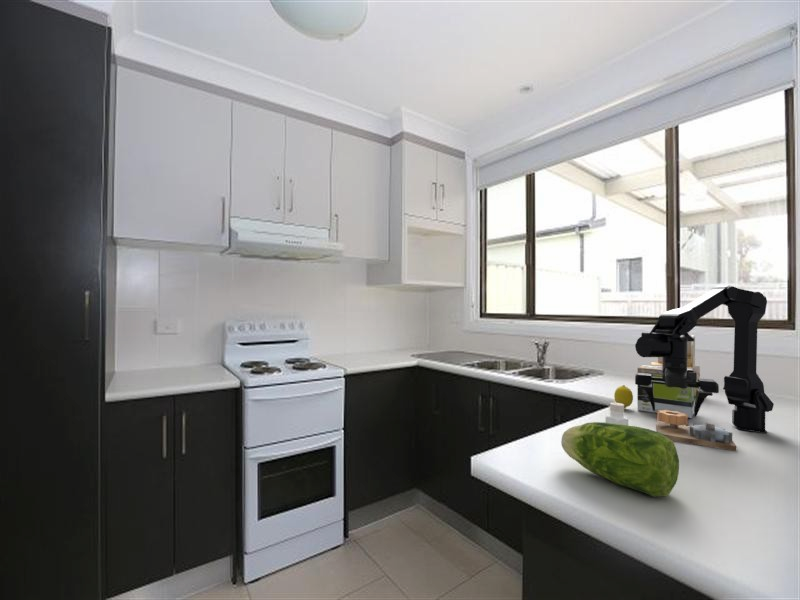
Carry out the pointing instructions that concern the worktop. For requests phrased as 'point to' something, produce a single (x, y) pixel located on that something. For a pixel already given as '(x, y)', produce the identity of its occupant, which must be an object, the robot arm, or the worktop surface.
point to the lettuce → (625, 455)
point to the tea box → (665, 395)
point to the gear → (672, 417)
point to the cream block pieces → (689, 359)
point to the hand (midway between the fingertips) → (674, 413)
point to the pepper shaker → (616, 414)
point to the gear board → (698, 435)
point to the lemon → (623, 396)
